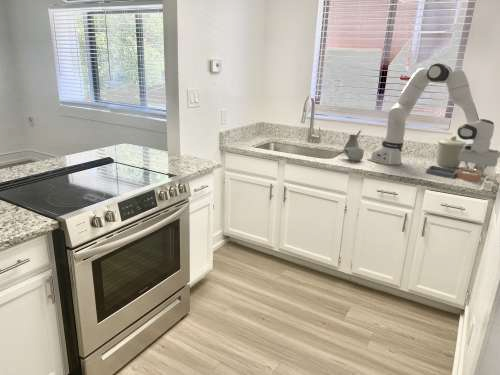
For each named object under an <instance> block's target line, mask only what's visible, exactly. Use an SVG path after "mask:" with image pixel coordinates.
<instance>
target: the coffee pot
mask: <svg viewBox="0 0 500 375" xmlns="http://www.w3.org/2000/svg"><path fill="white" fill-rule="evenodd" d="M361 133H363V131H362V130H359V131H358V132H357V133H356V135H355V134H349V135H348V136H349V139H348V140H347V142H346V144H345V146H344V148H351V147H356V148H360V146H359V142H358V138H359V135H360V134H361ZM344 148H343V149H344ZM345 152H346V153H347V154H348V151H347V149H345Z"/></svg>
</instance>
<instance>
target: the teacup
mask: <svg viewBox="0 0 500 375" xmlns="http://www.w3.org/2000/svg"><path fill="white" fill-rule="evenodd" d="M345 149H347V151H348V153H346V151H345ZM342 151H343V153H344V155H345V156H346V157H347V159H348V160H349V161H352V162H360V161H361V160H363V158H364V153H365V149H364V148H360V147H359V148H356V147H351V148H343V150H342Z"/></svg>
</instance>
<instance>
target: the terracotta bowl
mask: <svg viewBox="0 0 500 375" xmlns="http://www.w3.org/2000/svg"><path fill="white" fill-rule="evenodd" d="M463 171H465V172H470V173H476V174H479V175H470V174H465V173H462V172H463ZM481 175H482V174H481V173H479V172H476V171H473V169H472V170H470V169H469V170H467V169H458V171H457V174H456V178H458V179H460V180H462V181H467V182H480V181H481V178H482V176H481Z"/></svg>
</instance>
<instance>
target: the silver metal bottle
mask: <svg viewBox="0 0 500 375" xmlns="http://www.w3.org/2000/svg"><path fill="white" fill-rule="evenodd" d="M484 166H485V165H482V164H476V163H474V166H473V169H472V171H476V172H479V173H481V174H482V175H481V177H484V175H485V171H484V172H481V169H483V168H485V167H484Z"/></svg>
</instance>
